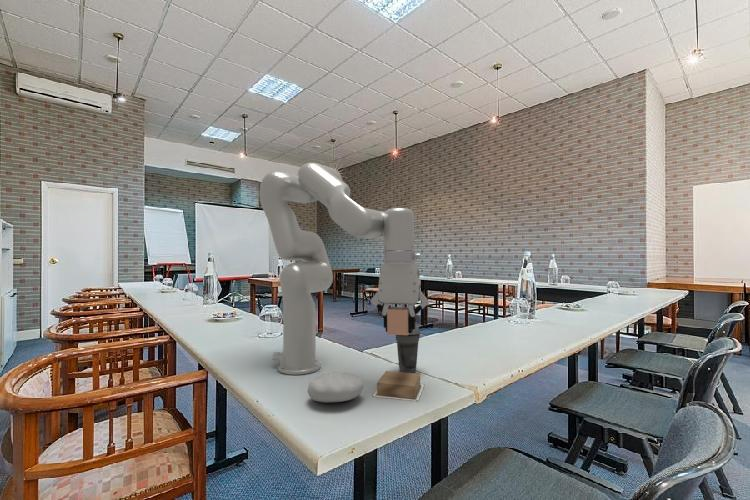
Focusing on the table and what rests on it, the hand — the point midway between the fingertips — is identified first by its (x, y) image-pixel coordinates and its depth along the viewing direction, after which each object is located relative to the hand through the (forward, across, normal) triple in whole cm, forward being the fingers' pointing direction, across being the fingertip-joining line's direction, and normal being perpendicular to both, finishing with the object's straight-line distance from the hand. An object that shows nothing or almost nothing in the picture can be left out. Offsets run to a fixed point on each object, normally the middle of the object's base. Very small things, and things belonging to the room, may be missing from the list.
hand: (399, 330), depth 88 cm
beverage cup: (+15, +1, -14) cm, 21 cm away
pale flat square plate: (+15, 0, 0) cm, 15 cm away
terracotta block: (+1, 0, 0) cm, 1 cm away
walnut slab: (+15, 0, 0) cm, 15 cm away
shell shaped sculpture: (+15, +13, +10) cm, 22 cm away
